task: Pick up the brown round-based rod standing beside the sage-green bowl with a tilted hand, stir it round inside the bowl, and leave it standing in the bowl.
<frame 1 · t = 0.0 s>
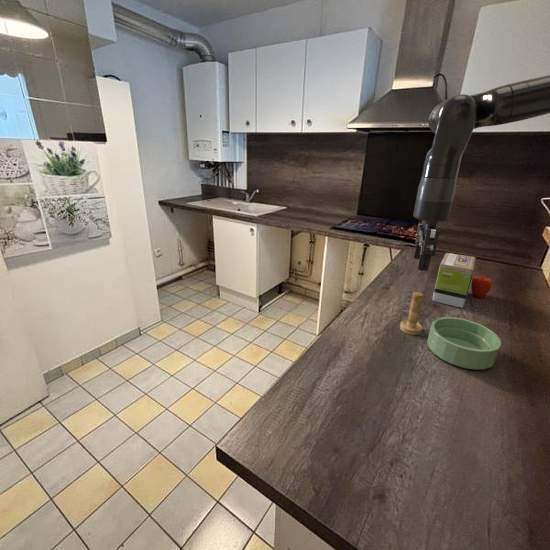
hand: (420, 264, 73), 24 cm above the worktop, tool pointing down, fingers open, 8 cm apart
bowl: (458, 351, 78), on the worktop
red bell pepper: (477, 296, 109), on the worktop
tea box: (449, 297, 108), on the worktop
brown round-based rod: (410, 329, 88), on the worktop
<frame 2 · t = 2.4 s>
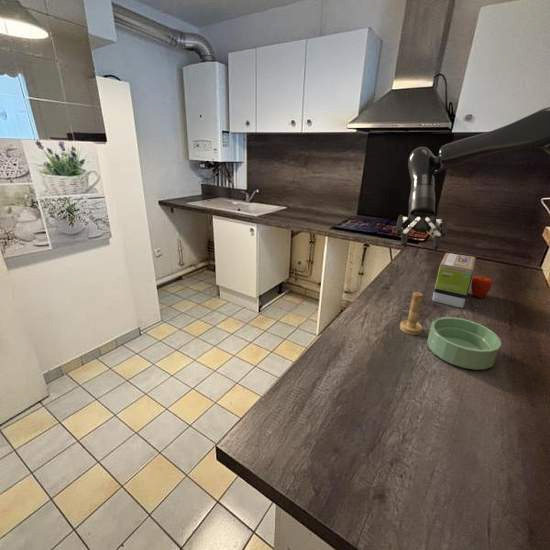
hand: (420, 247, 88), 23 cm above the worktop, tool tilted 45°, fingers open, 8 cm apart
nothing on the worktop moved.
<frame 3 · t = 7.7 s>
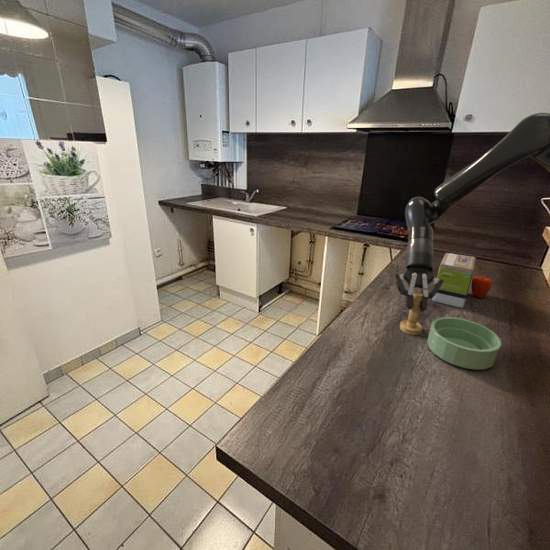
hand: (416, 309, 83), 8 cm above the worktop, tool tilted 45°, fingers closed on brown round-based rod, 2 cm apart
brown round-based rod: (410, 329, 88), on the worktop, touching gripper
everything else where it was.
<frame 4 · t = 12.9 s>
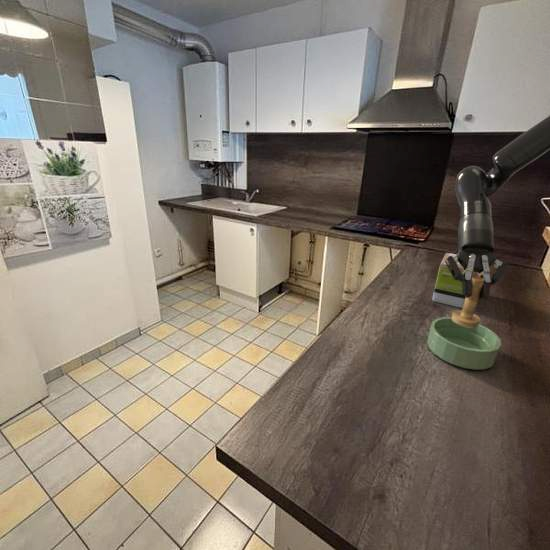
hand: (475, 297, 69), 18 cm above the worktop, tool tilted 45°, fingers closed on brown round-based rod, 2 cm apart
brown round-based rod: (464, 321, 74), point 10 cm above the worktop, touching gripper
everything else where it was.
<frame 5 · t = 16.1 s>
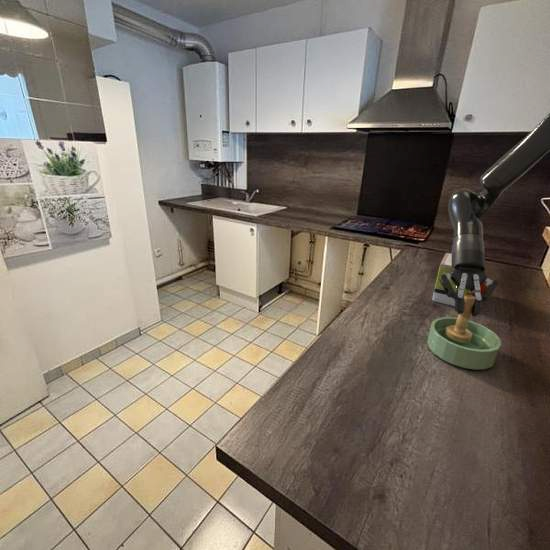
hand: (467, 314, 74), 11 cm above the worktop, tool tilted 45°, fingers closed on brown round-based rod, 2 cm apart
brown round-based rod: (457, 335, 79), point 4 cm above the worktop, touching gripper
everything else where it was.
when the fingers open (9 cm above the worktop, at t = 18.2 s): brown round-based rod stays where it is, resting on bowl.
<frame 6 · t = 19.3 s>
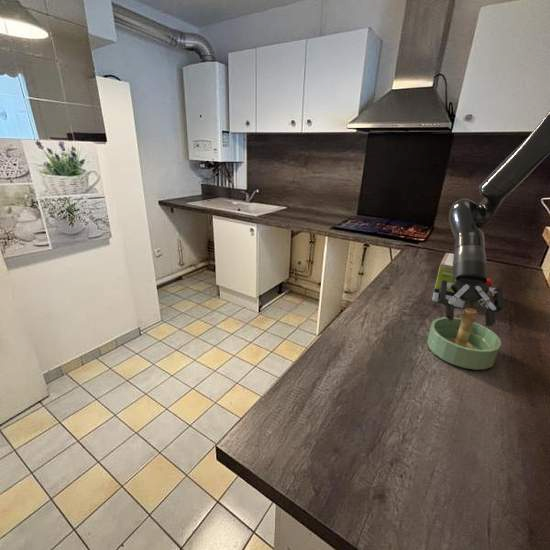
hand: (469, 322, 73), 10 cm above the worktop, tool tilted 45°, fingers open, 8 cm apart
brown round-based rod: (458, 349, 78), point 1 cm above the worktop, touching bowl
everything else where it was.
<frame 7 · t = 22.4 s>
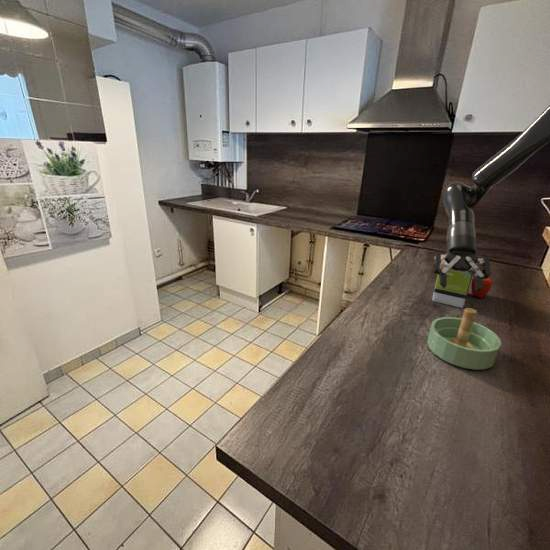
hand: (460, 288, 83), 13 cm above the worktop, tool tilted 45°, fingers open, 8 cm apart
nothing on the worktop moved.
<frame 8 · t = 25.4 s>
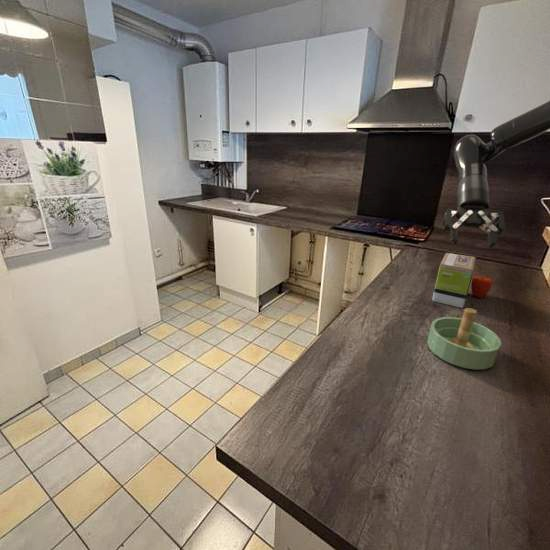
hand: (473, 244, 78), 27 cm above the worktop, tool tilted 45°, fingers open, 8 cm apart
nothing on the worktop moved.
at the end: brown round-based rod inside the target area in the bowl (0.1 cm from its centre), point 0.6 cm above the bowl's base; brown round-based rod tilted 0°; the gripper is holding nothing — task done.
